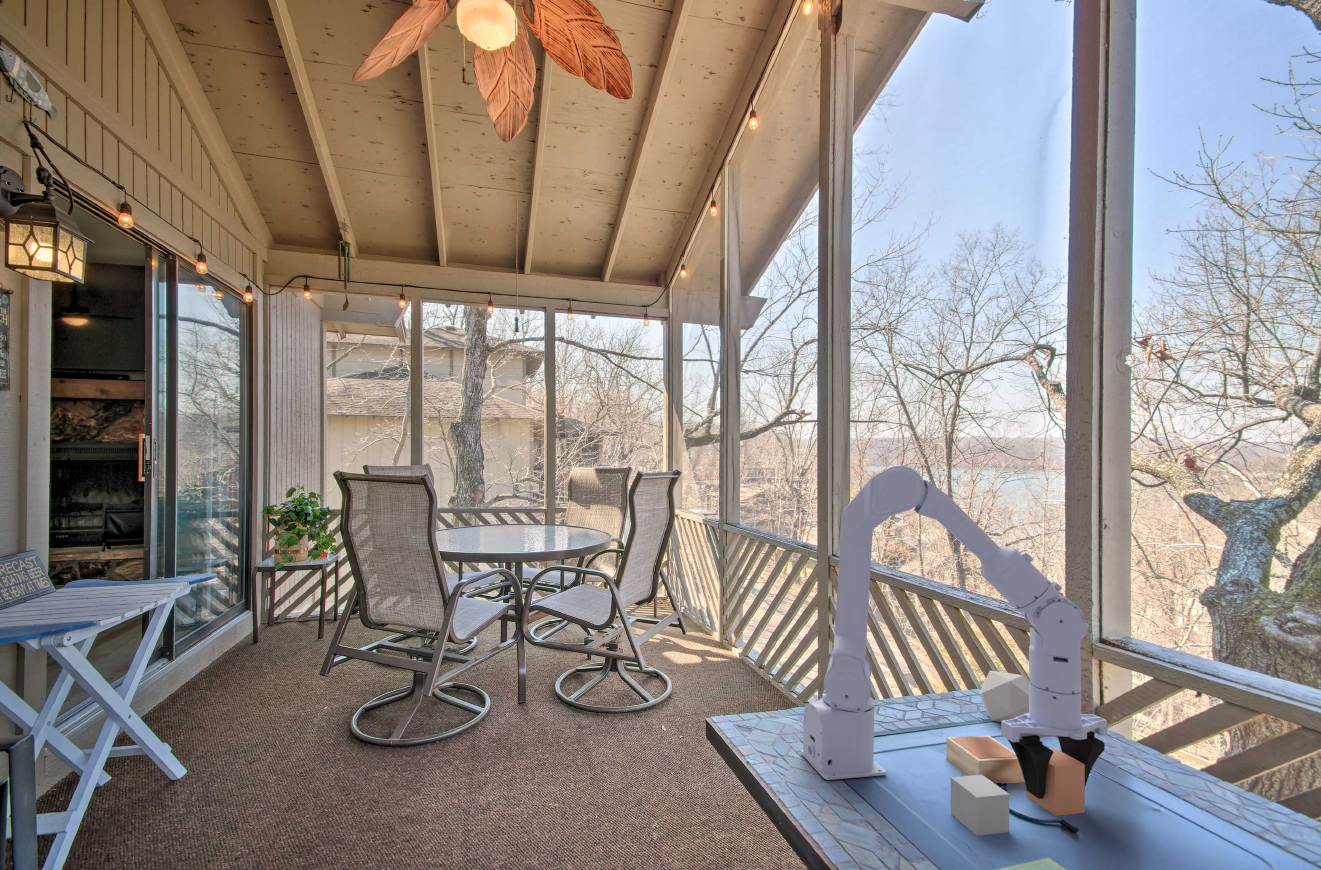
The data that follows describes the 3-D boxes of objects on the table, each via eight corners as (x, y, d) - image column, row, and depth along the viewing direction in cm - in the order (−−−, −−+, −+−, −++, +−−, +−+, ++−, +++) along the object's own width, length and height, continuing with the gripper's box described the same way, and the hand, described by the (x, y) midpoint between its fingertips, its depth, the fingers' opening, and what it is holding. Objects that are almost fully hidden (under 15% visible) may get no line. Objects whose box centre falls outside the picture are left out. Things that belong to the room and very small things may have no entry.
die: (1034, 720, 105) (999, 666, 110) (1058, 713, 98) (1020, 656, 103) (994, 738, 104) (961, 683, 109) (1015, 733, 97) (979, 674, 102)
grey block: (976, 836, 70) (976, 797, 70) (950, 814, 74) (950, 777, 75) (1009, 832, 71) (1009, 794, 71) (981, 810, 75) (981, 774, 76)
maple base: (978, 786, 81) (978, 760, 82) (946, 761, 88) (946, 736, 89) (1023, 784, 83) (1024, 758, 83) (988, 759, 89) (988, 735, 90)
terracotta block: (1054, 815, 75) (1054, 766, 75) (1026, 796, 79) (1026, 749, 79) (1084, 812, 76) (1084, 764, 76) (1054, 793, 80) (1054, 747, 80)
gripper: (1032, 701, 73) (1032, 815, 72) (1129, 695, 76) (1130, 804, 75) (989, 680, 80) (989, 784, 79) (1079, 675, 82) (1080, 775, 82)
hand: (1054, 792), depth 77 cm, fingers open, 5 cm apart
